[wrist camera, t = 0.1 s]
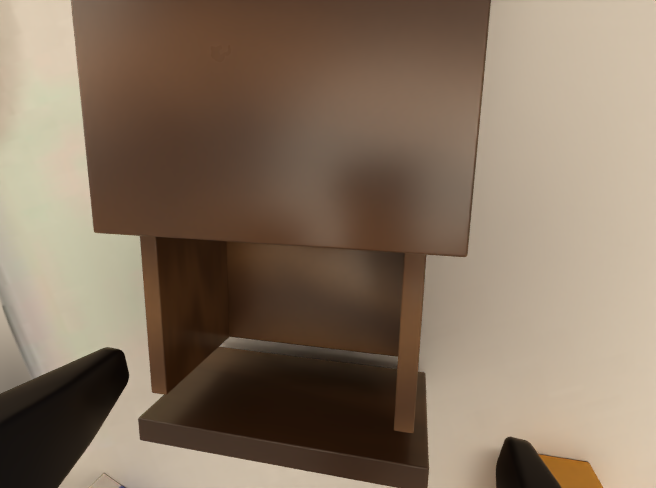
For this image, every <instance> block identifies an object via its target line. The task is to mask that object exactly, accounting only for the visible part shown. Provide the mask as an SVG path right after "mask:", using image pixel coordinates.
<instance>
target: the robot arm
mask: <svg viewBox="0 0 656 488" xmlns="http://www.w3.org/2000/svg"><path fill="white" fill-rule="evenodd" d="M128 379H129V372H128V368H127V363H126V359H125V355H124V353H123V352H122V351H121V350H119V349H114V348H109V347H106V348H103V349H100V350H98V351H96V352H94V353H91V354H89V355H87V356H85V357H82V358H80V359H78V360H76V361H73V362H71V363H69V364H67V365H64V366H62V367H60V368H58V369H55V370H53V371H51V372H48V373H46V374H44V375H42V376H39V377H37V378H35V379H33V380H30V381H28V382H26V383H24V384H21V385H19V386H17V387H15V388H12V389H10V390H8V391H6V392H3V393H1V394H0V488H58V487H59V485H60V484H61V483H62V481H63V480H64V479H65V477H66V476H67V475H68V473H69V472H70V471H71V469H72V468H73V467H74V465H75V464H76V462H77V461H78V460H79V458H80V457H81V456H82V454H83V453H84V452H85V450H86V449H87V447H88V446H89V445H90V443H91V442H92V440H93V439H94V437H95V435H96V434H97V432H98V431H99V429H100V427H101V426H102V424H103V423H104V421H105V419H106V418H107V416H108V414H109V413H110V411H111V409H112V408H113V406H114V405H115V403H116V401H117V400H118V398H119V396H120V395H121V393H122V391H123V390H124V388H125V386H126V385H127V382H128ZM496 488H562V487H561V486H560V484H559V483H558V481H557V480H556V479H555V477H554V476H553V474H552V473H551V472H550V470H549V469H548V467H547V466H546V465H545V463H544V462H543V460H542V459H541V458H540V456H539V455H538V453H537V452H536V451H535V449H534V448H533V446H532V445H531V444H530V443H529V442H528V441H526V440H522V439H518V438H513V437H507V438H506V439H505V441H504V444H503V447H502V449H501V452H500V455H499V458H498V461H497V465H496Z"/></svg>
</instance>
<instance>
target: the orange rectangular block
mask: <svg viewBox="0 0 656 488" xmlns="http://www.w3.org/2000/svg"><path fill="white" fill-rule="evenodd" d="M538 455H539V454H538ZM539 456H540V458H541V459H542V460H543V462H544V463H545V465H546V466H547V467H548V469H549V470H550V472H551V473H552V474H553V476H554V477H555V479H556V480H557V481H558V483H559V484H560V486H561V487H562V488H603V486H602V485H601V483H600V481H599V479H598V478H597V476H596V474H595V472H594V471H593V469H592V467H591V465H590V464H589V463H588V462H583V461H577V460H570V459H564V458H558V457H551V456H545V455H539Z"/></svg>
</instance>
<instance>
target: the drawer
mask: <svg viewBox="0 0 656 488" xmlns="http://www.w3.org/2000/svg"><path fill="white" fill-rule="evenodd" d="M140 241H141V255H142V268H143V281H144V294H145V307H146V320H147V333H148V347H149V360H150V373H151V386H152V392H153V393H158V394H164V395H163V396H162V397H161V398H160V399H159V400H158V401H157V402H156V403H155V404H153V405H152V406H151V407H150V408H149V409H148V410H147V411H146V412H145V413H144V414H142V415H141V416H140V417H139V419H138V421H139V433H140V440H143V441H149V442H154V443H159V444H165V445H170V446H176V447H181V448H186V449H192V450H197V451H202V452H208V453H213V454H219V455H224V456H229V457H235V458H240V459H246V460H251V461H256V462H262V463H267V464H273V465H278V466H283V467H289V468H294V469H300V470H305V471H310V472H316V473H321V474H327V475H332V476H337V477H343V478H348V479H354V480H359V481H364V482H370V483H375V484H380V485H386V486H391V487H397V488H427V487H428V475H429V456H428V430H427V403H426V377H425V373H424V372H418V363H419V349H420V335H421V321H422V307H423V293H424V279H425V265H426V255H425V254H410V253H395V252H380V251H364V250H349V249H334V248H319V247H304V246H288V245H273V244H258V243H243V242H228V241H212V240H197V239H182V238H167V237H152V236H140ZM229 336H230V337H238V338H246V339H255V340H263V341H272V342H280V343H289V344H297V345H305V346H314V347H322V348H331V349H339V350H348V351H356V352H365V353H373V354H381V355H390V356H398V366H397V369H392V368H384V367H376V366H368V365H360V364H352V363H344V362H336V361H328V360H321V359H313V358H305V357H297V356H289V355H281V354H273V353H265V352H257V351H249V350H241V349H233V348H225V347H219V346H220V345H221V344H222V343H223V342H224V341H225V340H227V339H228V338H229Z"/></svg>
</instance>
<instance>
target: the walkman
mask: <svg viewBox="0 0 656 488" xmlns="http://www.w3.org/2000/svg"><path fill="white" fill-rule="evenodd" d="M89 488H125V487H123V486H122V485H120V484H118V483H117V482H116V481H114V480H113V479H111V478H110V477H108V476H107V475H106V474H102V475H101V476H100V477H99V478H98V479H97V480H96V481H95V482H94V483H93V484H92V485H91V486H90V487H89Z"/></svg>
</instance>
